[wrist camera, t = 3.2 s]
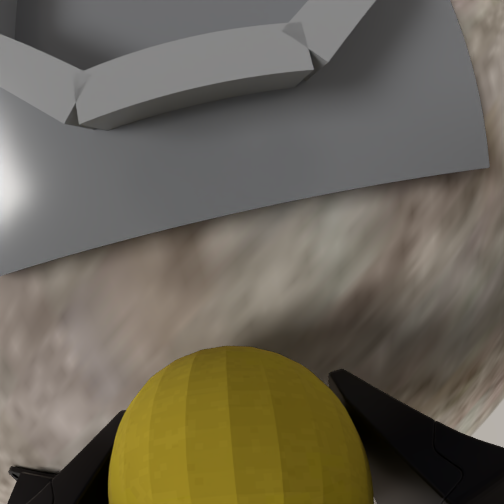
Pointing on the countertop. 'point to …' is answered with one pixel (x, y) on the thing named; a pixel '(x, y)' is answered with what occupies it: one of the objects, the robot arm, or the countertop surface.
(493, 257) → the countertop surface
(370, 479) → the lemon
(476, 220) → the countertop surface
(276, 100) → the ring plate
